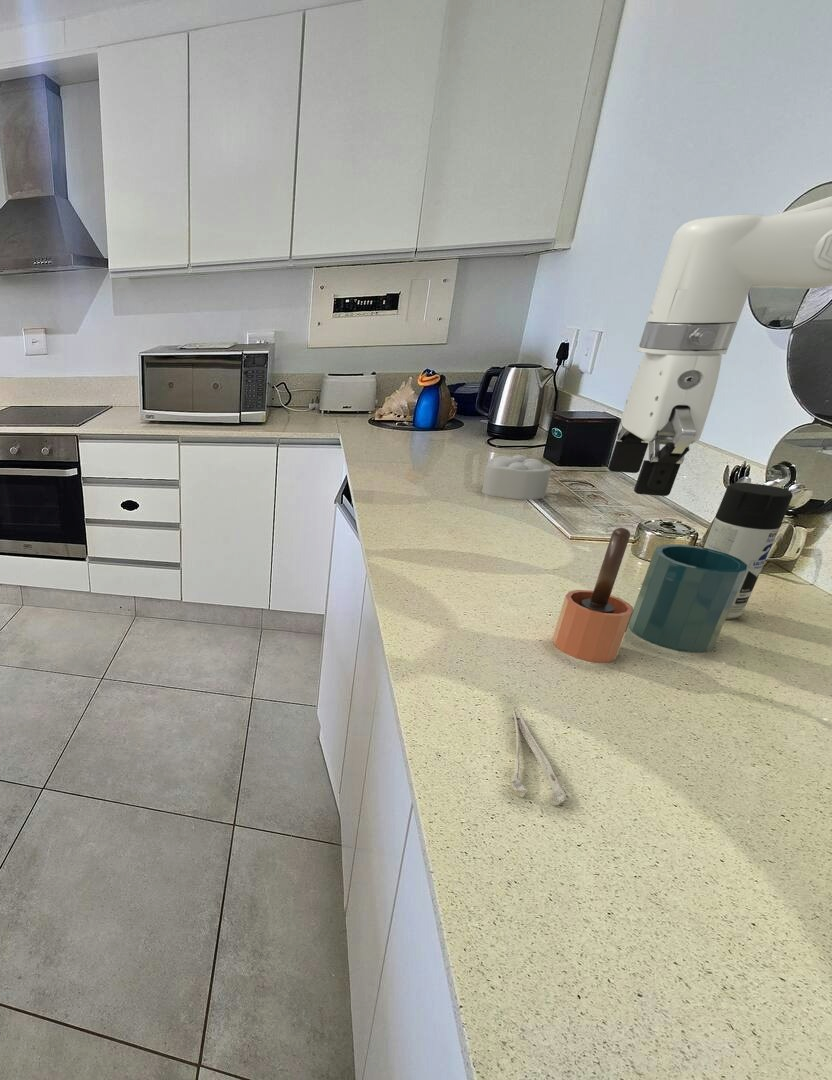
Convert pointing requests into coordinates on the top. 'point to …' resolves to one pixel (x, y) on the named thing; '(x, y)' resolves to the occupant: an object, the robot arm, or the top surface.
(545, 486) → the lumpy-topped squat cylinder
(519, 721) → the forked grey bone
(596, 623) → the brush holder
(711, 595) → the teal faceted cup
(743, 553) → the spray can
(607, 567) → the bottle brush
